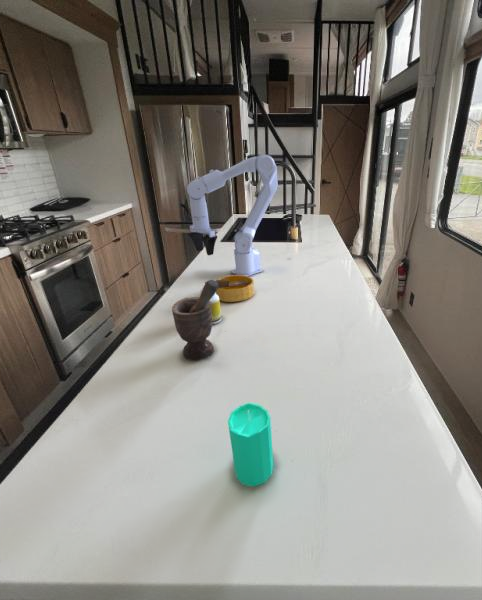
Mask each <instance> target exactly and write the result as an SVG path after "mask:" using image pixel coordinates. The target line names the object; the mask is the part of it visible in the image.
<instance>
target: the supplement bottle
mask: <svg viewBox="0 0 482 600" xmlns="http://www.w3.org/2000/svg"><path fill="white" fill-rule="evenodd" d="M202 289H203V287H202V288H201V289H200V293H201V292H202ZM209 301H210V303H211V314H212V325H215V324H218V323H220V322H221V321H222V318H223V317H222V309H221V302H220V301H221V300H219V296H218V295H216V293H215V294H214V295H213V297H212V298H211V299H210V300H209Z"/></svg>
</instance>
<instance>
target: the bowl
mask: <svg viewBox="0 0 482 600" xmlns="http://www.w3.org/2000/svg"><path fill="white" fill-rule="evenodd" d="M224 279H227V280H229V284H233V283H236V282H243V281H246V282H249V284H245V285H235V286H229V287H224V288H218V289H217V291H216V295H218V296H219V301H221V302H227V303H228V302H229V303H232V302H233V303H234V302H241V301H245V300H248V299H250V298H251V297H253V296H254V294H255V280H254V279H253V277H251V276H244V275H236V274H231V275H226V276H222V277H219V278H218V279H216V280H224Z"/></svg>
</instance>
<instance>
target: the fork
mask: <svg viewBox="0 0 482 600" xmlns="http://www.w3.org/2000/svg"><path fill="white" fill-rule="evenodd" d="M215 281H216V282H217V283H218V288H224V287H229V286H235V285H245V284H249V282H246V281H243V282H236V283H233V284H229V280H227V279H224V280H217V279H215ZM206 282H207V281H205V282H204V284H205V283H206ZM218 288H217V289H218Z"/></svg>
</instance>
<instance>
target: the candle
mask: <svg viewBox="0 0 482 600" xmlns="http://www.w3.org/2000/svg"><path fill="white" fill-rule="evenodd" d="M271 422H272V421H271V416H270V414H269V411H268V410H267V409H266V408H264V406H262V405H260V404H256V403H253V402H247V403H245V404H242V405H239V406H238V407H236V408H235V409H234V410H232V411H231V412H230V415H229V416H228V419H227V424H228V432H229V438H230V439H229V440H230V445H231V452H232V459H233V467H234V472H235V476H236V479H237V480H238V481H239V483H241V484H242V485H243V486H248V487H257V486H260V485H262V484H265V483H266V482H267V481H268V480H269V479H270V478H271V477H272V474H273V471H274V455H273V454H274V452H273V439H272V438H273V437H272V424H271Z"/></svg>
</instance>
